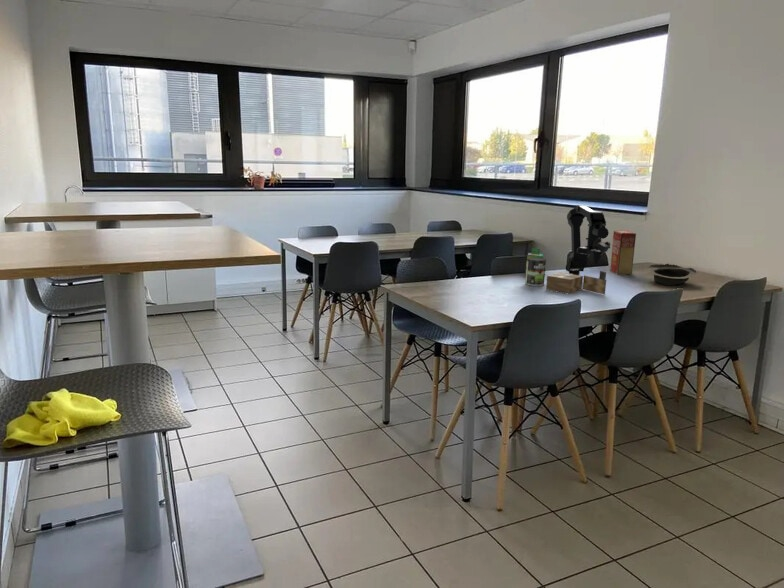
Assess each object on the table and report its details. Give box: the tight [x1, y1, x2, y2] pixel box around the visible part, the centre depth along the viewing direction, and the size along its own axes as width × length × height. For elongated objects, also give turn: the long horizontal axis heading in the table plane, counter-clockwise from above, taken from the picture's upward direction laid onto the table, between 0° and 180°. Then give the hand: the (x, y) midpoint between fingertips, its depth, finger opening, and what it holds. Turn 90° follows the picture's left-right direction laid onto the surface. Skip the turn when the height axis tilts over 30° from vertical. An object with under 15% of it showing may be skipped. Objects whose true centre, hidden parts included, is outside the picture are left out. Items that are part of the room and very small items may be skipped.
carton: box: [545, 271, 584, 295], centre depth 302 cm, size 14×13×8 cm
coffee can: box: [524, 257, 547, 287], centre depth 314 cm, size 10×10×14 cm
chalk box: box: [525, 247, 544, 267], centre depth 343 cm, size 9×9×15 cm
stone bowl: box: [647, 263, 697, 286], centre depth 321 cm, size 25×25×9 cm
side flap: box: [582, 270, 607, 295], centre depth 296 cm, size 14×1×12 cm, turn 33°
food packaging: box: [609, 230, 637, 275], centre depth 347 cm, size 13×9×25 cm
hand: (590, 265), depth 300 cm, fingers open, 9 cm apart
